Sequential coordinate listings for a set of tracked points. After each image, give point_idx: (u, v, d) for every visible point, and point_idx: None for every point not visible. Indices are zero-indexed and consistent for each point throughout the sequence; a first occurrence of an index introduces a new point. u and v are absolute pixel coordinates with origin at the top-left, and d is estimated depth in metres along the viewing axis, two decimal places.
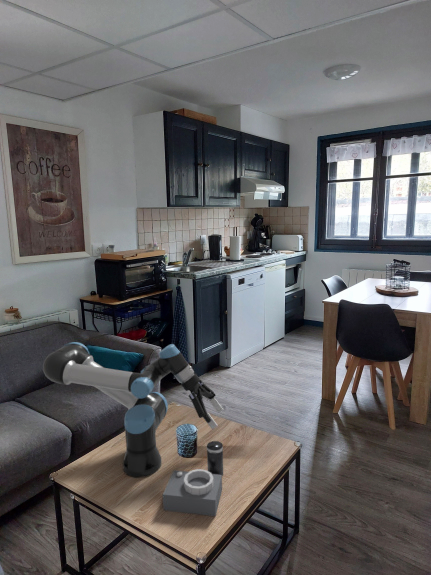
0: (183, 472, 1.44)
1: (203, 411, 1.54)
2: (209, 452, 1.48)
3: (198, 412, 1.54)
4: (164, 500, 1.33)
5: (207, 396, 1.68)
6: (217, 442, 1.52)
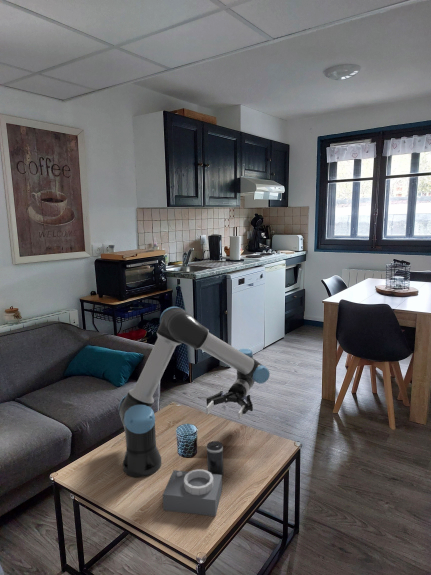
0: (183, 472, 1.44)
1: None
2: (209, 452, 1.48)
3: None
4: (164, 500, 1.33)
5: (217, 400, 1.67)
6: (217, 442, 1.52)
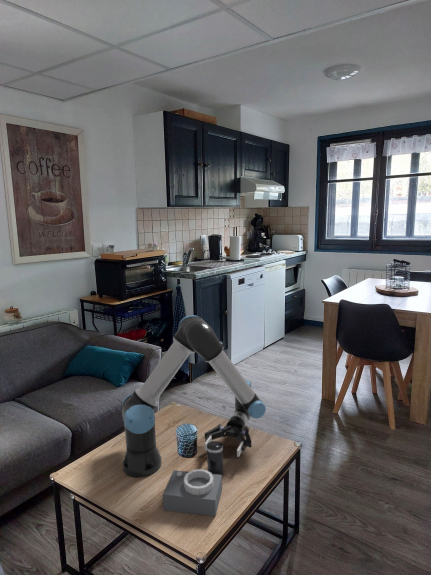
0: (183, 472, 1.44)
1: None
2: (209, 452, 1.48)
3: (250, 440, 1.61)
4: (164, 500, 1.33)
5: (215, 435, 1.65)
6: (217, 442, 1.52)
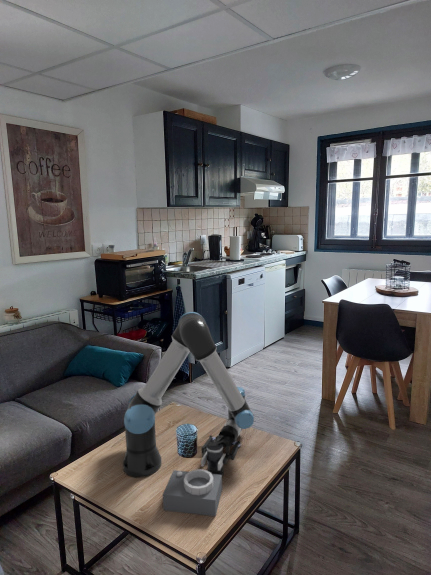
0: (183, 472, 1.44)
1: None
2: (209, 452, 1.48)
3: (234, 453, 1.52)
4: (164, 500, 1.33)
5: None
6: (217, 442, 1.52)
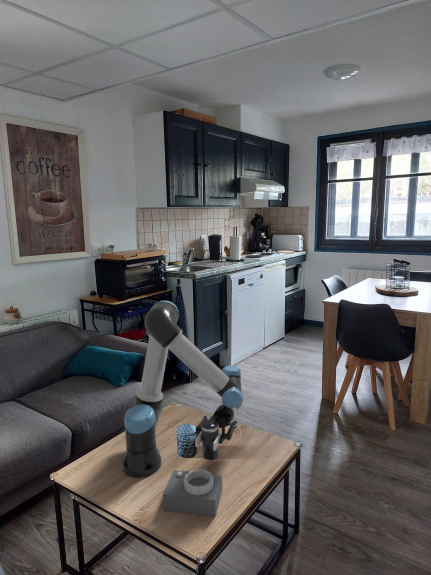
0: (183, 472, 1.44)
1: None
2: (204, 431, 1.38)
3: (231, 432, 1.43)
4: (164, 500, 1.33)
5: None
6: (212, 421, 1.42)
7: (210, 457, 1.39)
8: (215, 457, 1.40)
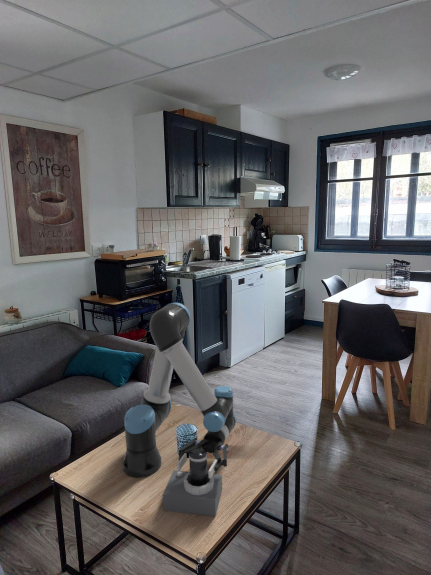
0: (183, 472, 1.44)
1: None
2: (191, 461, 1.33)
3: (226, 458, 1.37)
4: (164, 500, 1.33)
5: None
6: (201, 450, 1.37)
7: None
8: None
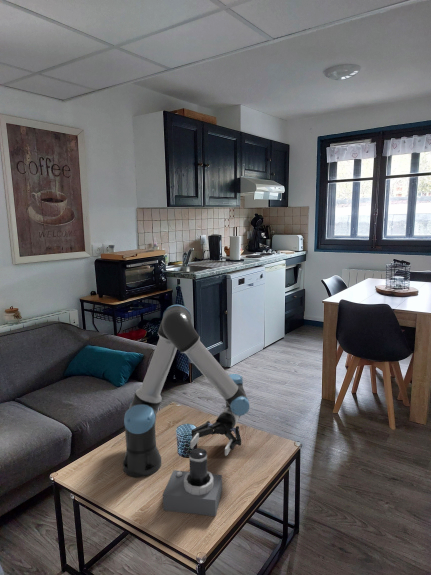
0: (183, 472, 1.44)
1: None
2: (191, 461, 1.33)
3: None
4: (164, 500, 1.33)
5: (203, 432, 1.54)
6: (201, 450, 1.37)
7: None
8: None
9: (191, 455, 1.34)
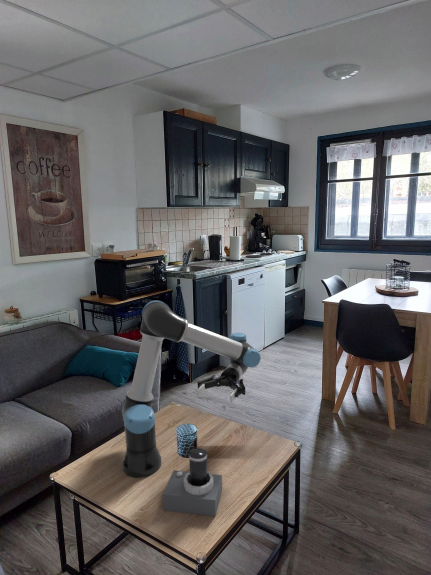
0: (183, 472, 1.44)
1: None
2: (191, 461, 1.33)
3: (244, 388, 1.56)
4: (164, 500, 1.33)
5: (208, 384, 1.60)
6: (201, 449, 1.37)
7: None
8: None
9: (191, 455, 1.34)
